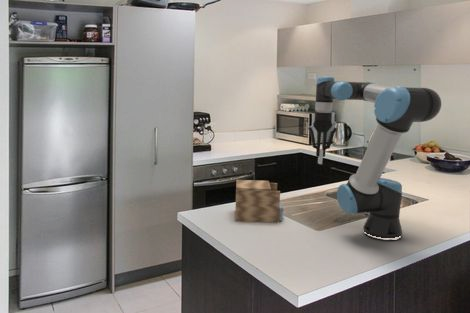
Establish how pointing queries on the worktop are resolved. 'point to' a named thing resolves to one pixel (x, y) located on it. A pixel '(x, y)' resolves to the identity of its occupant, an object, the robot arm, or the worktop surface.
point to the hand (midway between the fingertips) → (320, 163)
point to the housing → (257, 201)
